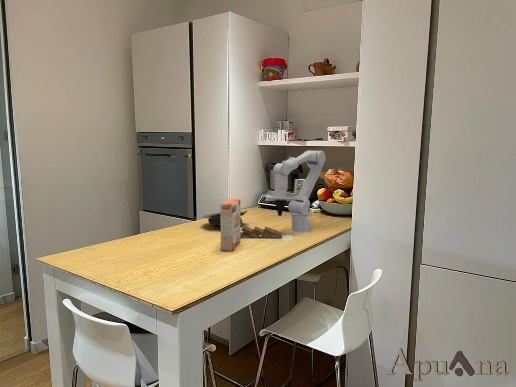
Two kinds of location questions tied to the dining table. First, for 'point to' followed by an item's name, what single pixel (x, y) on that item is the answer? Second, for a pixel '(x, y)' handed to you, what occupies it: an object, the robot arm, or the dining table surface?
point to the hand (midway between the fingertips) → (279, 215)
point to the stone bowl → (219, 218)
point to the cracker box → (230, 224)
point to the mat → (284, 237)
